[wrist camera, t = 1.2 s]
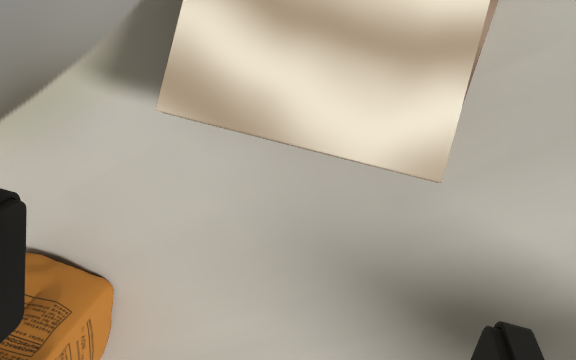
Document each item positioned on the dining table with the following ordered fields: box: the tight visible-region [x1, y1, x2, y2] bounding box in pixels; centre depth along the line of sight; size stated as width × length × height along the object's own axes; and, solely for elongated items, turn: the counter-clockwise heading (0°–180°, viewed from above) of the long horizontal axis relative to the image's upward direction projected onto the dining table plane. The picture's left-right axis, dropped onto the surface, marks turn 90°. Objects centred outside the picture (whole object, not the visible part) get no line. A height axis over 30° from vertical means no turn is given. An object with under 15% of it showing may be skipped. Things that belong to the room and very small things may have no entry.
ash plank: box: [156, 0, 490, 183], centre depth 28 cm, size 14×15×2 cm
